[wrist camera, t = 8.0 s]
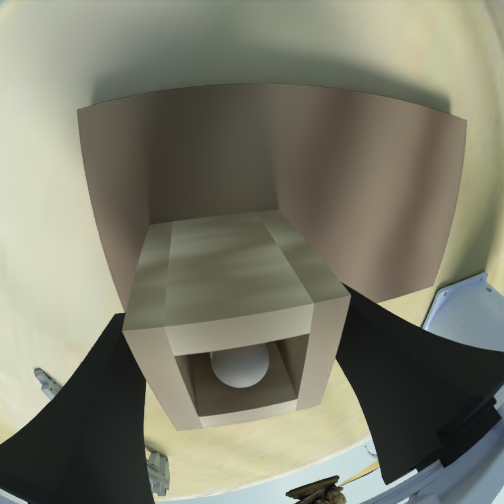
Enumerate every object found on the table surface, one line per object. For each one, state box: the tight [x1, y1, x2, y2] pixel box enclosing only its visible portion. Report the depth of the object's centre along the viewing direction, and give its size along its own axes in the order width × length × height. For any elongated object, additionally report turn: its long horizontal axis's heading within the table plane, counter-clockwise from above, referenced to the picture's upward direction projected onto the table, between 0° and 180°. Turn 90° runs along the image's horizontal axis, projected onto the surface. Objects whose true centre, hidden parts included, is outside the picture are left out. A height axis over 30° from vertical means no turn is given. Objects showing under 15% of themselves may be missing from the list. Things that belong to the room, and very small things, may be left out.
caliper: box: [34, 370, 170, 496], centre depth 18 cm, size 20×1×6 cm, turn 18°
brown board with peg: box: [77, 84, 467, 388], centre depth 10 cm, size 20×12×7 cm, turn 92°
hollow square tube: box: [122, 209, 351, 431], centre depth 10 cm, size 5×5×6 cm
